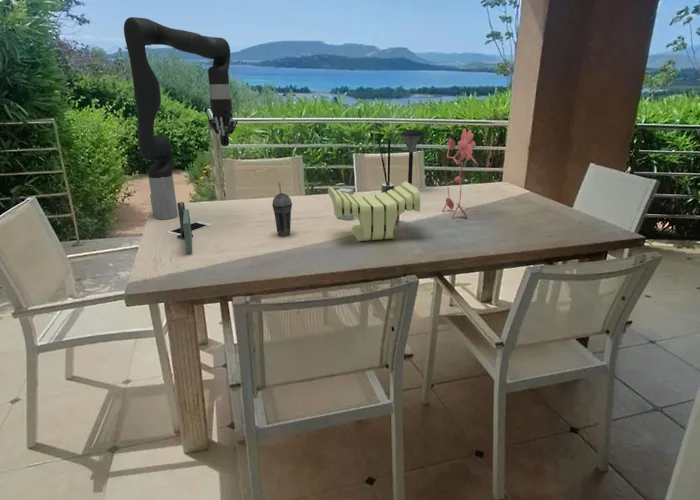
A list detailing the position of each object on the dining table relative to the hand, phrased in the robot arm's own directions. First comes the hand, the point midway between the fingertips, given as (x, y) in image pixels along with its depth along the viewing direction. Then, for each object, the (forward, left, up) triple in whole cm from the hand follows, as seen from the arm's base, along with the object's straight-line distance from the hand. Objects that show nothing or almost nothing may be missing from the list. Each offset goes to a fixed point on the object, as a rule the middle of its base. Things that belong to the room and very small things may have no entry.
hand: (225, 145), depth 183 cm
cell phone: (-11, -12, -32) cm, 36 cm away
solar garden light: (+40, +80, -31) cm, 94 cm away
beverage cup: (+25, +1, -31) cm, 40 cm away
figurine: (+73, +60, -31) cm, 99 cm away
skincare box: (+34, +30, -31) cm, 55 cm away
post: (-4, -20, -31) cm, 37 cm away
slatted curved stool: (+54, +17, -31) cm, 65 cm away
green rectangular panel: (+4, -26, -30) cm, 40 cm away
